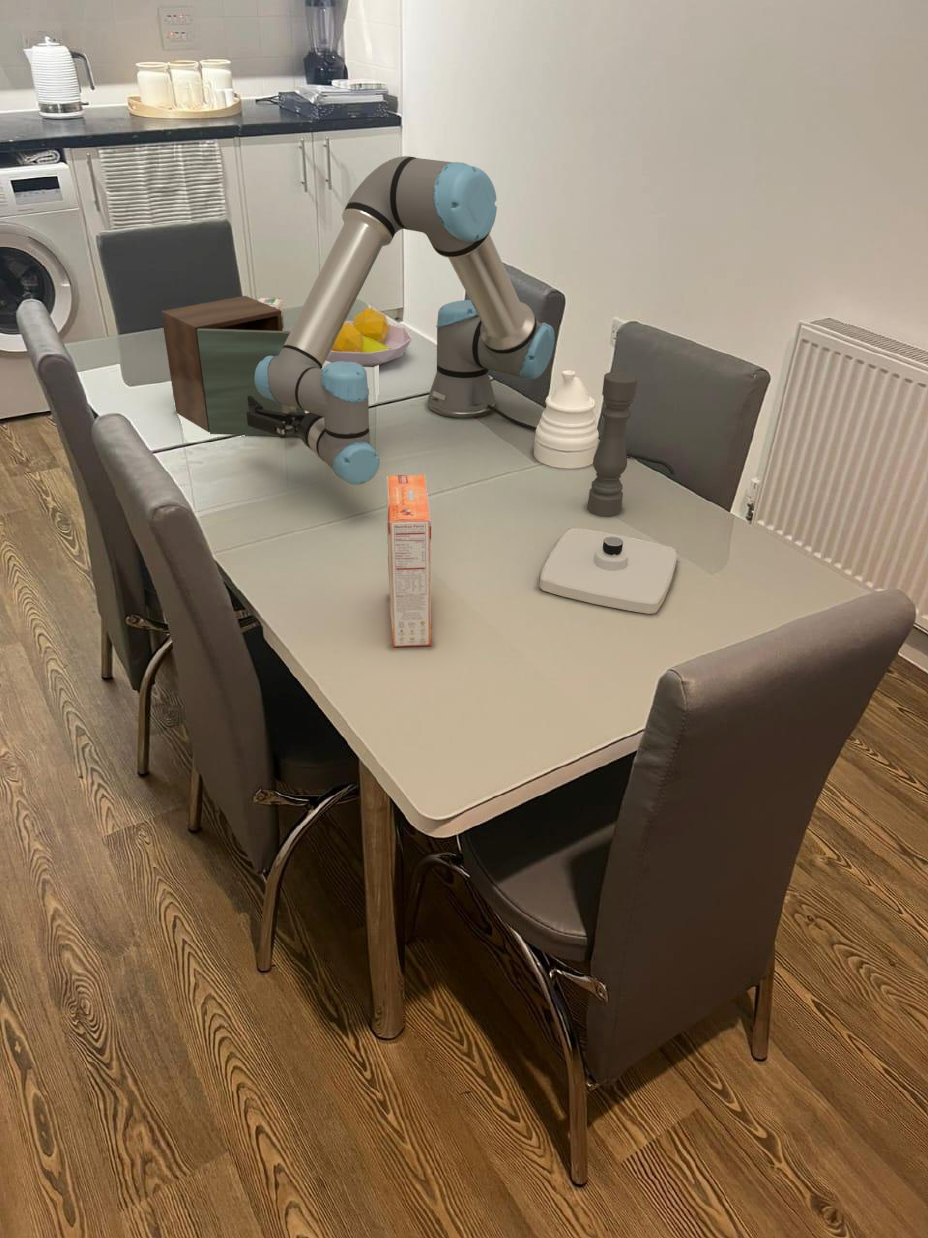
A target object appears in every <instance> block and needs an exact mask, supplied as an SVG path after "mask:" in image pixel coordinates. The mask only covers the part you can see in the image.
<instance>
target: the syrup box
mask: <svg viewBox="0 0 928 1238" xmlns="http://www.w3.org/2000/svg"><path fill="white" fill-rule="evenodd" d="M257 301H259V302H262V303H264V304H267V305H269V306H272V307H274V308H276V309H279V310H281V316H282V329H283V331H286V330H285V322H284V321H285V320H284V310H283V301H282V298H278V297H259V299H258V300H257Z"/></svg>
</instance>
